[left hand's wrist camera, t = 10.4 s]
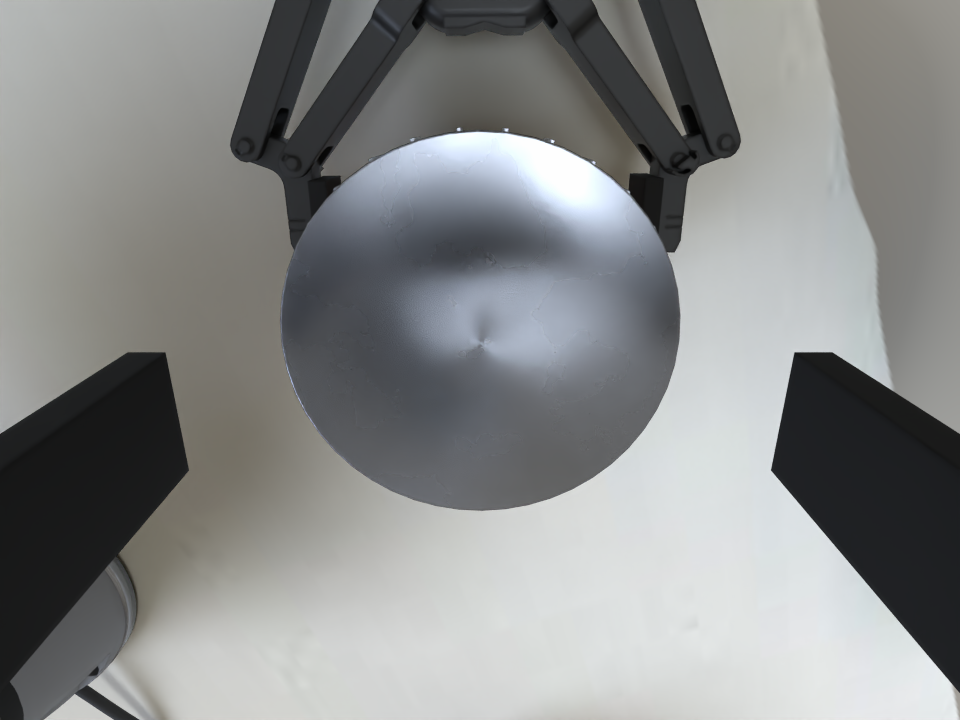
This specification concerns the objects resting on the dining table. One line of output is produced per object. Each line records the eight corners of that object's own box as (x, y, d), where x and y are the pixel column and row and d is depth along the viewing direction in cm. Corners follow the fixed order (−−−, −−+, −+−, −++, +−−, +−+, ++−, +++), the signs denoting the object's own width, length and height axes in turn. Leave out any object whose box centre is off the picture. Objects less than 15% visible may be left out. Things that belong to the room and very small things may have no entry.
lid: (304, 102, 17) (276, 98, 14) (697, 153, 17) (731, 156, 15) (299, 453, 21) (276, 493, 18) (619, 486, 21) (636, 529, 19)
